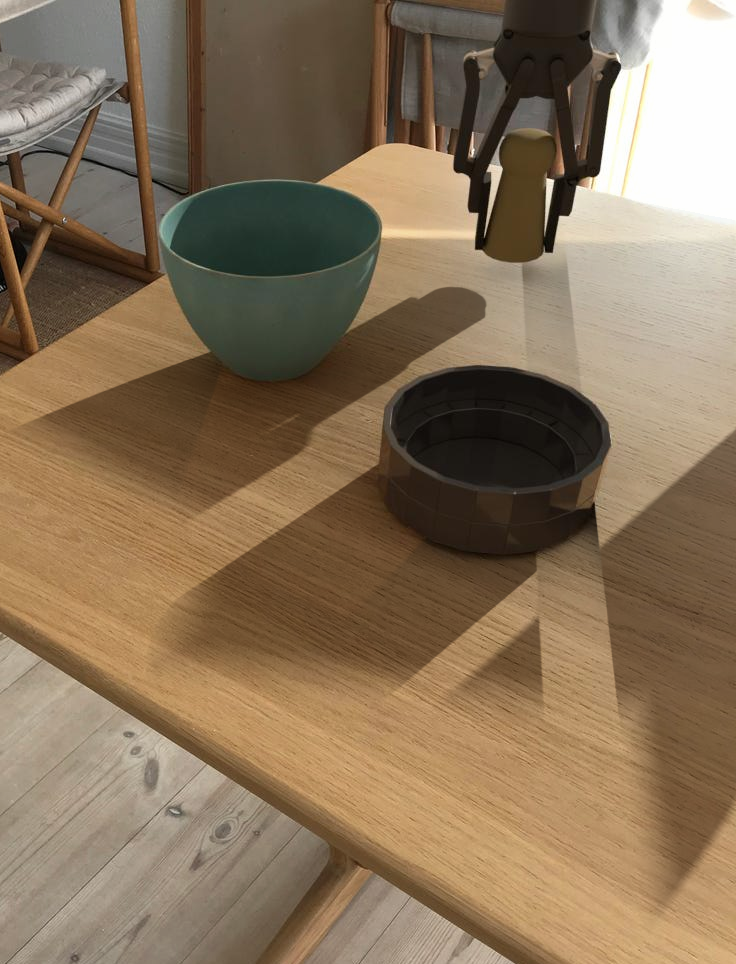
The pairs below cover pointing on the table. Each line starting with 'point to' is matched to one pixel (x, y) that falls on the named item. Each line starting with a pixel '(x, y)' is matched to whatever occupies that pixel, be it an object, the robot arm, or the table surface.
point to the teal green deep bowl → (270, 271)
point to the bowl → (492, 458)
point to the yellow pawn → (520, 197)
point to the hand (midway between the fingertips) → (513, 245)
